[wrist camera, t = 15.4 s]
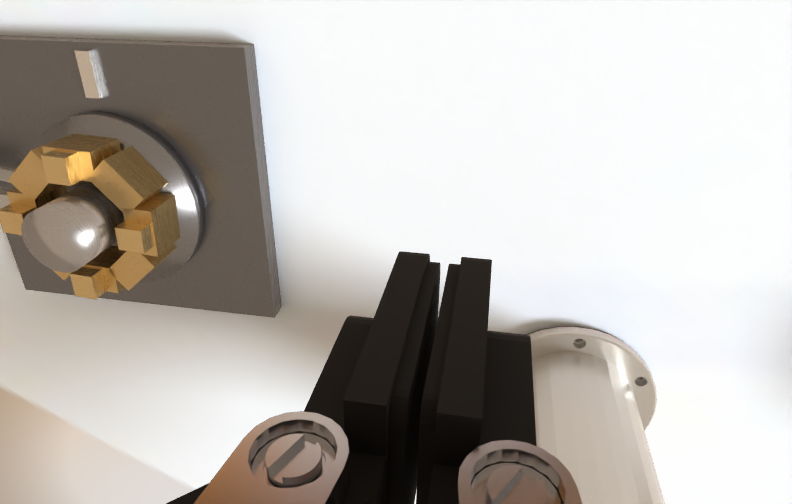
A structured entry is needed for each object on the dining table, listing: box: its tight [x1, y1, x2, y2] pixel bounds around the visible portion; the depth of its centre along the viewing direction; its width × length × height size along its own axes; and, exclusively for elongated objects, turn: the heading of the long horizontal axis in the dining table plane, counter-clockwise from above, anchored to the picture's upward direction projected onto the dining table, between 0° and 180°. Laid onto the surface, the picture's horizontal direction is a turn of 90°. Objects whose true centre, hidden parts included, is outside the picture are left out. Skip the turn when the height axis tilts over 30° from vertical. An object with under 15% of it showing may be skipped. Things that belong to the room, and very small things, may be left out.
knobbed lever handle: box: [0, 133, 181, 299], centre depth 39 cm, size 20×10×4 cm, turn 87°
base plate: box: [0, 36, 281, 317], centre depth 39 cm, size 20×22×8 cm
